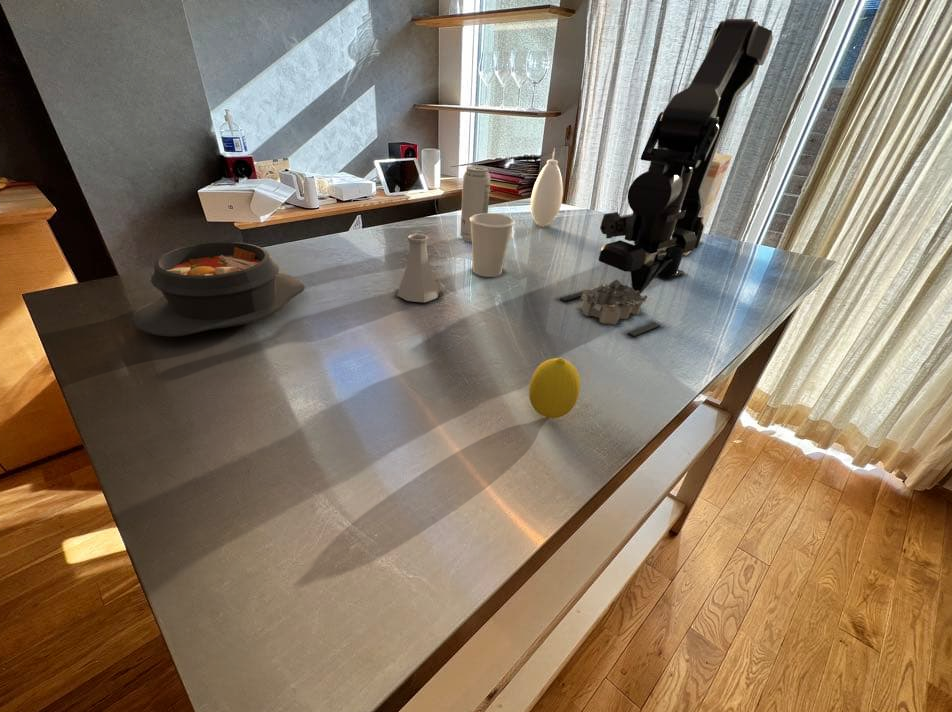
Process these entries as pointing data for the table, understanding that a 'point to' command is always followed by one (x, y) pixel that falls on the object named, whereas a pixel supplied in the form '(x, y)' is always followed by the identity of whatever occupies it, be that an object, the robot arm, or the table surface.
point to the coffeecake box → (713, 185)
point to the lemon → (554, 388)
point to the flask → (418, 273)
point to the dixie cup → (490, 242)
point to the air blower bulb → (547, 194)
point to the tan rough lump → (612, 302)
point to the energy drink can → (474, 197)
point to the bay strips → (632, 333)
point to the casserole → (214, 289)
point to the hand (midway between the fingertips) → (635, 295)
